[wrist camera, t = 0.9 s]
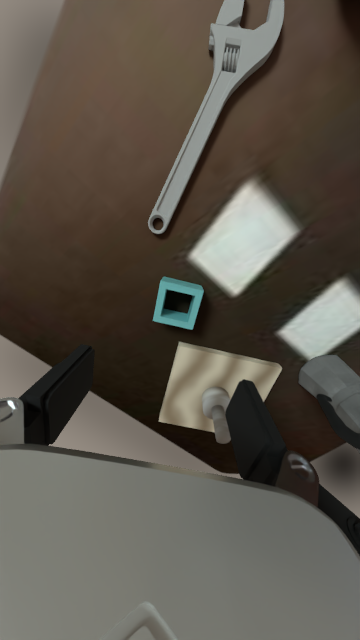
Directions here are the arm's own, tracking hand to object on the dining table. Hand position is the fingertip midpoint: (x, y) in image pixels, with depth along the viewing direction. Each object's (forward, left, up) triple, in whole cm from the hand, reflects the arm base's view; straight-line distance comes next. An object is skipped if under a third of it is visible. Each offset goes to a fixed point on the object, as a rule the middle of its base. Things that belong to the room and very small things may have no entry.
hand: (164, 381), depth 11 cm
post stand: (-12, +18, -20) cm, 30 cm away
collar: (0, 0, -20) cm, 20 cm away
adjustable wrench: (+3, -21, -21) cm, 30 cm away
